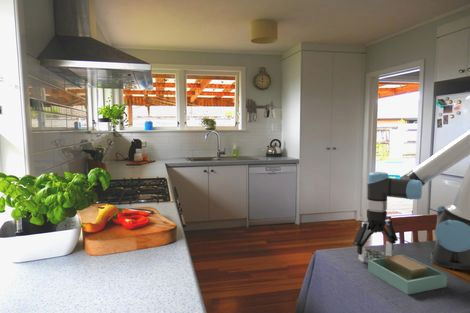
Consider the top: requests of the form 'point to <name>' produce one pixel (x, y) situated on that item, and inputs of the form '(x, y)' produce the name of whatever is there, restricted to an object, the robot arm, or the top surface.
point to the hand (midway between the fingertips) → (375, 259)
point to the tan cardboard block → (405, 267)
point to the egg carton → (374, 253)
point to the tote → (430, 282)
